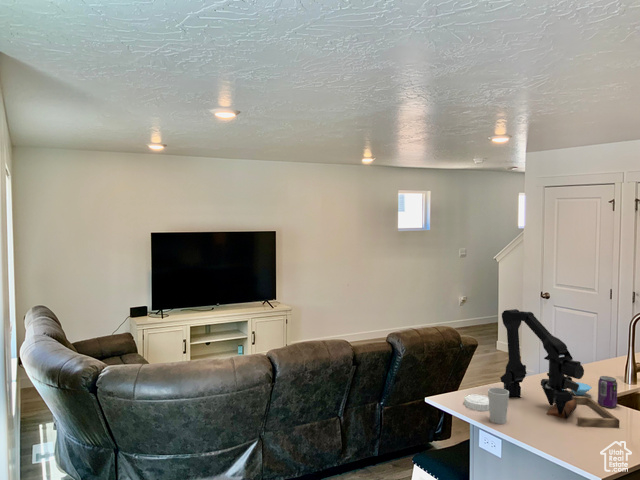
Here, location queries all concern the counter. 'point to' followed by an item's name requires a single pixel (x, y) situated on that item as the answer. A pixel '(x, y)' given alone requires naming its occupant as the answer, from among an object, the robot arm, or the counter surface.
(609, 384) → the beverage can
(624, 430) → the counter surface
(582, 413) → the counter surface
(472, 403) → the mooncake
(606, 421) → the corral
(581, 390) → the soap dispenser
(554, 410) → the sunglasses case
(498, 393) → the cup
